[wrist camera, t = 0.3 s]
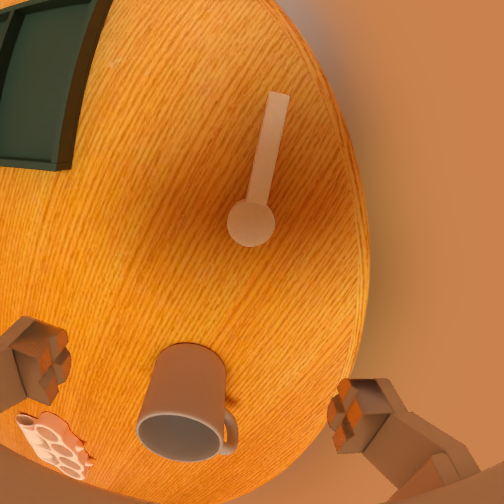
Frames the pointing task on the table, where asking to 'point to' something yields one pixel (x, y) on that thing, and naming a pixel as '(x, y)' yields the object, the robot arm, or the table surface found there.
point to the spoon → (260, 179)
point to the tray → (45, 78)
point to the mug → (187, 406)
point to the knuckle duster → (55, 443)
